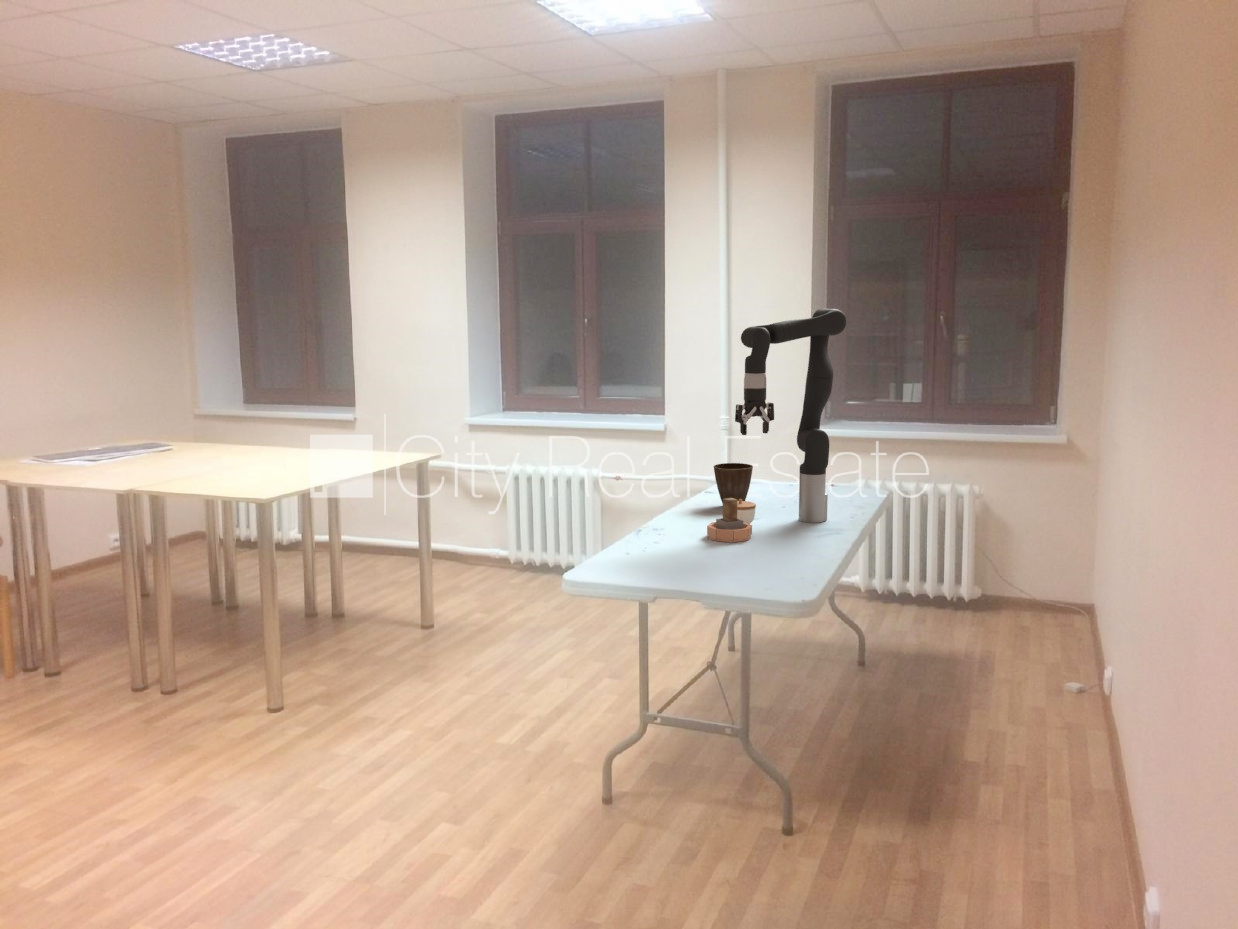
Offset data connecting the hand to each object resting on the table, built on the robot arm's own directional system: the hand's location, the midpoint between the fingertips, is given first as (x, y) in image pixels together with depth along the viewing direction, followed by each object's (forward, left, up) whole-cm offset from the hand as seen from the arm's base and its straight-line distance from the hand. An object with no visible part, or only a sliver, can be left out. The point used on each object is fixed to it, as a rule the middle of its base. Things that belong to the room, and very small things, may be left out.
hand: (754, 434), depth 331 cm
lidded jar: (+1, -7, -33) cm, 34 cm away
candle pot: (+14, +7, -33) cm, 37 cm away
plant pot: (-14, -36, -33) cm, 51 cm away
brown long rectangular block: (+14, +7, -32) cm, 36 cm away
